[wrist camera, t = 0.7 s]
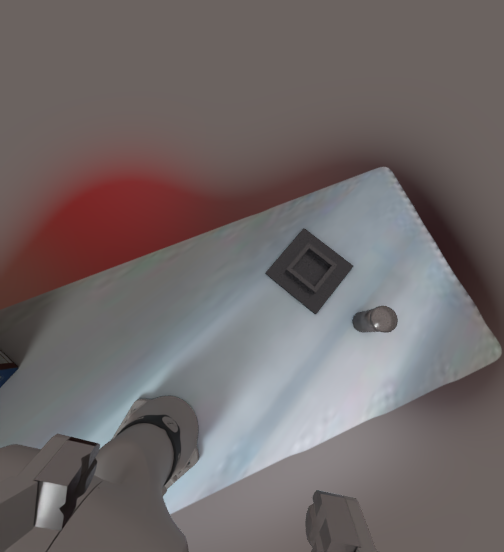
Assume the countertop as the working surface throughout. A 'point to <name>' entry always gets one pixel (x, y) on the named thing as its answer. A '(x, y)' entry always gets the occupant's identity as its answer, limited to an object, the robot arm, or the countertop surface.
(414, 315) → the countertop surface
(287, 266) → the duct collar
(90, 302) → the countertop surface
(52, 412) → the countertop surface
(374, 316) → the grey cylinder
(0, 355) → the protein box
